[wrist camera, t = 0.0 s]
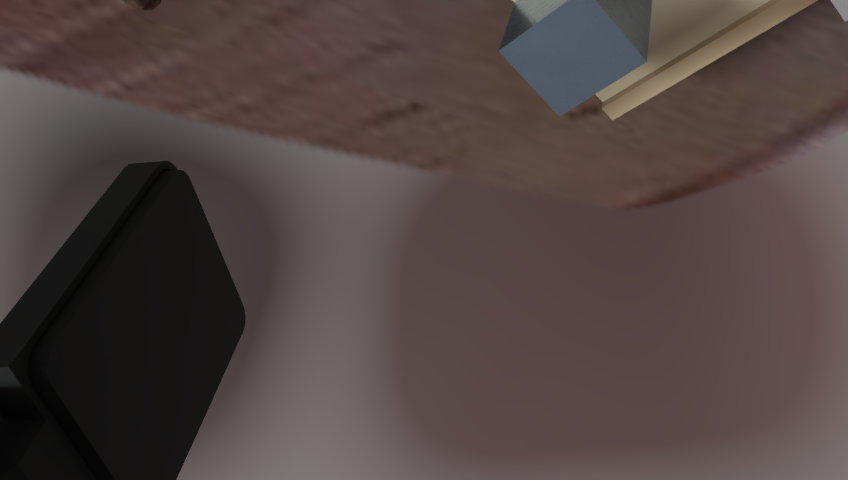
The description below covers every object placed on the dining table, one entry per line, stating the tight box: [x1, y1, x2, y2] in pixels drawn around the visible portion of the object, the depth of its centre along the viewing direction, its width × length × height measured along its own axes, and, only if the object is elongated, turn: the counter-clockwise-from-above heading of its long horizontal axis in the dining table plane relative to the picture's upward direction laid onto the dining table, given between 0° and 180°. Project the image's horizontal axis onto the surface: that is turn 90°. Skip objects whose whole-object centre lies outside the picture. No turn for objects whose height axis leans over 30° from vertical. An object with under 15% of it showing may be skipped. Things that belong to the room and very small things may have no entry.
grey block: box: [499, 0, 652, 116], centre depth 38 cm, size 4×5×6 cm
